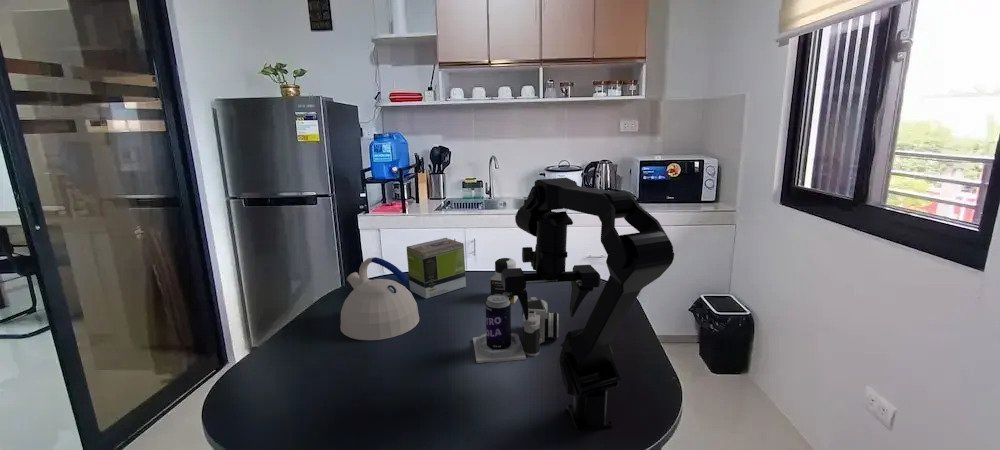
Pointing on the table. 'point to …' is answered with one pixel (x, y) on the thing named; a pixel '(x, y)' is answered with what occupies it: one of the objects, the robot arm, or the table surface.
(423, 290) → the tea box
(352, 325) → the kettle
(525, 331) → the camera
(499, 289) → the medicine bottle
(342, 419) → the table surface
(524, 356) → the mount
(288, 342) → the table surface
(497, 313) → the beverage can
